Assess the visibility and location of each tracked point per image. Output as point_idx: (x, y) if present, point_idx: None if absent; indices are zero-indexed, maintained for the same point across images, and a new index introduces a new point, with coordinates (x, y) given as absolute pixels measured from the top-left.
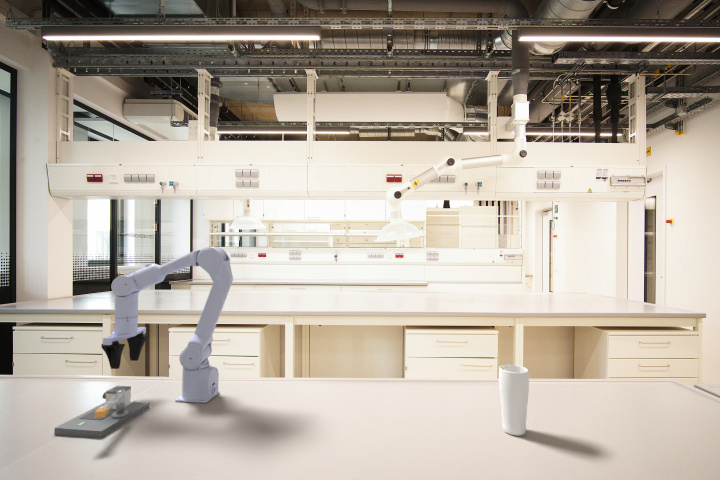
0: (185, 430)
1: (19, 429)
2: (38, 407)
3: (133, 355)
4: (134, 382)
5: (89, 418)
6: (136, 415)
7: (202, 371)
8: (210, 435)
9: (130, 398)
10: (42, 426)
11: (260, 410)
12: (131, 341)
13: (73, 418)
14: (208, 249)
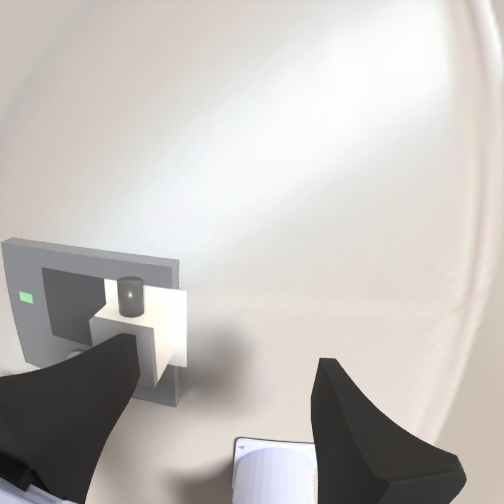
0: (110, 470)
1: (20, 114)
2: (155, 3)
3: (320, 402)
4: (447, 201)
5: (47, 298)
6: None
7: None
8: (112, 492)
9: (169, 359)
10: (34, 160)
11: None
12: (347, 481)
13: (38, 249)
14: None
